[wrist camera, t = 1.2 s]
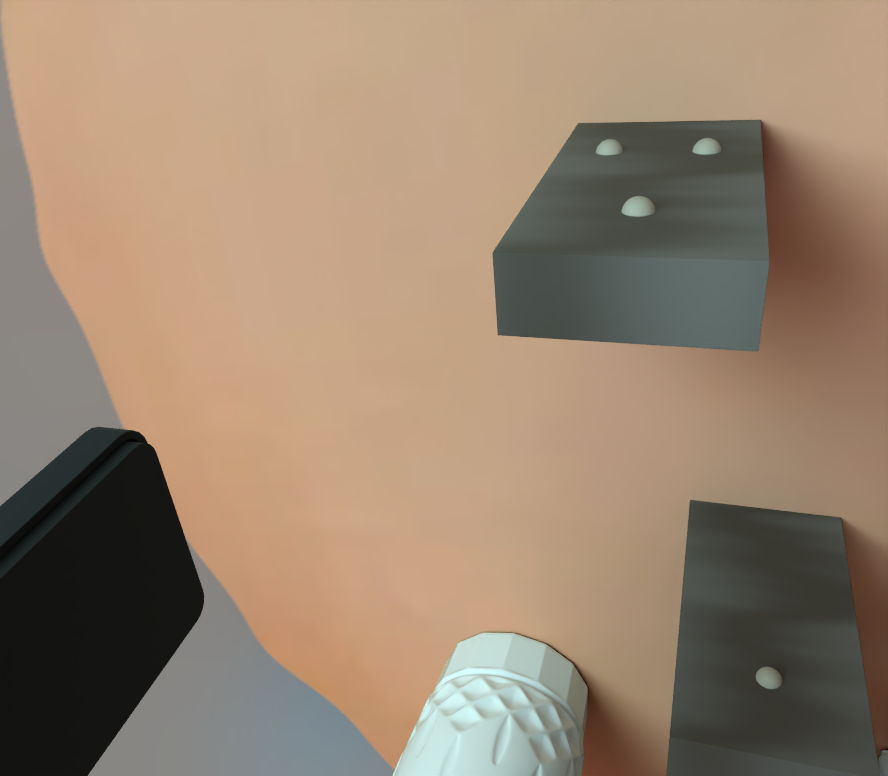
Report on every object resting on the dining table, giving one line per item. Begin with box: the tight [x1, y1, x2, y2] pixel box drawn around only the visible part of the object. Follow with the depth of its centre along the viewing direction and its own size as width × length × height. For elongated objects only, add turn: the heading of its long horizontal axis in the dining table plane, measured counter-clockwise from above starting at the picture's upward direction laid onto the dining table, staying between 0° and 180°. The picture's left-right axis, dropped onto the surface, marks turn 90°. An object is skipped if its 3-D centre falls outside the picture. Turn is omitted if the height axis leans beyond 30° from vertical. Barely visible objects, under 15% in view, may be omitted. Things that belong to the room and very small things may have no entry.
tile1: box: [667, 500, 880, 776], centre depth 25 cm, size 5×2×10 cm, turn 96°
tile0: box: [493, 120, 770, 351], centre depth 19 cm, size 5×2×10 cm, turn 96°
